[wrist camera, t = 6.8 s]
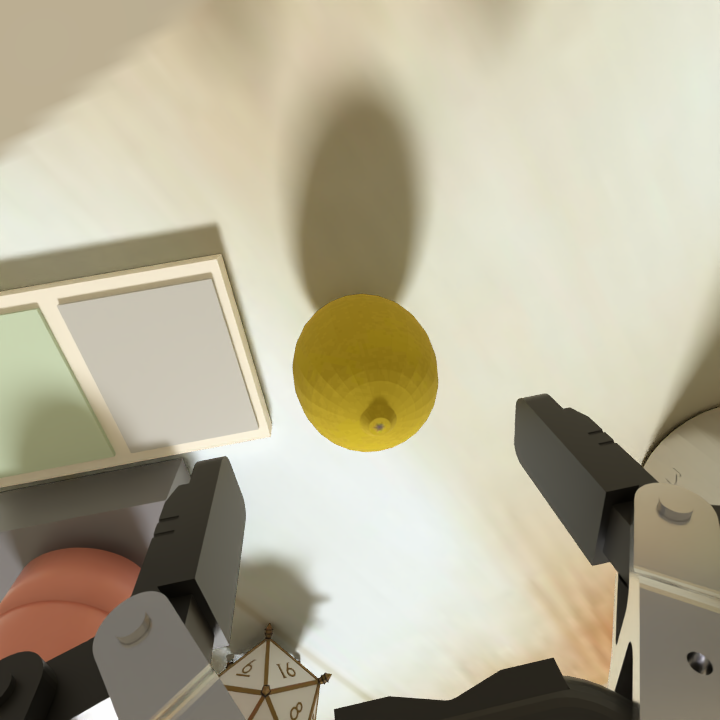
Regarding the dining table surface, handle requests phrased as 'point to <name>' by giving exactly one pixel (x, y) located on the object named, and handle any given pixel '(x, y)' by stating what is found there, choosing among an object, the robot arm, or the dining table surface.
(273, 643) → the game die
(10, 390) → the divided tray
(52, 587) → the dome button
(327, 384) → the lemon
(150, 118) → the dining table surface
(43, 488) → the button housing
